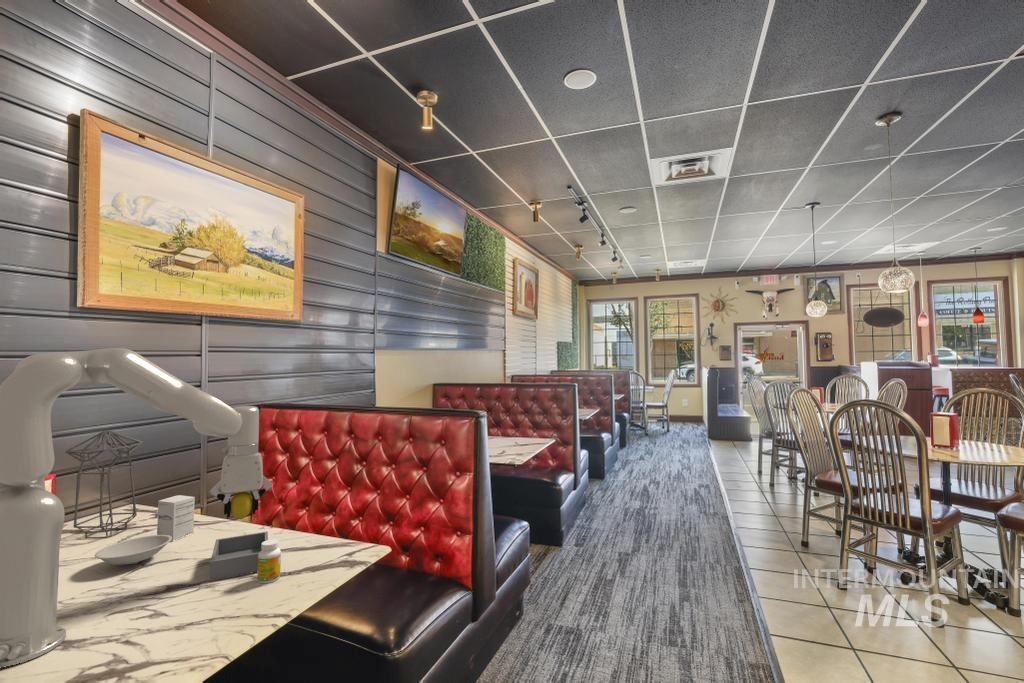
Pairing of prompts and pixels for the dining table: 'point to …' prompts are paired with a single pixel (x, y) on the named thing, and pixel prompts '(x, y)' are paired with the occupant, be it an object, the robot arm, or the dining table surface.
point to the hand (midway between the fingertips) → (241, 514)
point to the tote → (236, 555)
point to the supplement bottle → (269, 562)
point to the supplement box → (176, 516)
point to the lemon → (241, 505)
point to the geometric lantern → (71, 452)
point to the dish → (133, 549)
